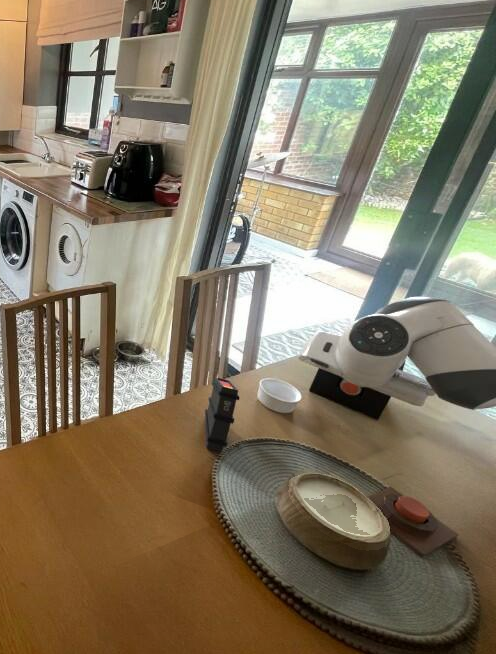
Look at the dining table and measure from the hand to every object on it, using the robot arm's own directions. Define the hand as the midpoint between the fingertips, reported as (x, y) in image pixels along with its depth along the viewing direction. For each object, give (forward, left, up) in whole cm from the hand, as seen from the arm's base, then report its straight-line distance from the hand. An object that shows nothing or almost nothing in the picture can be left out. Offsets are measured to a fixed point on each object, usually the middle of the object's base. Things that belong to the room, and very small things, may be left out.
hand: (354, 380), depth 89 cm
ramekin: (+11, +2, -16) cm, 19 cm away
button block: (-20, +11, -15) cm, 27 cm away
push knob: (+5, -12, -10) cm, 16 cm away
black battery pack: (+9, +25, -16) cm, 31 cm away
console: (+7, -19, -15) cm, 25 cm away
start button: (-20, +11, -11) cm, 25 cm away
